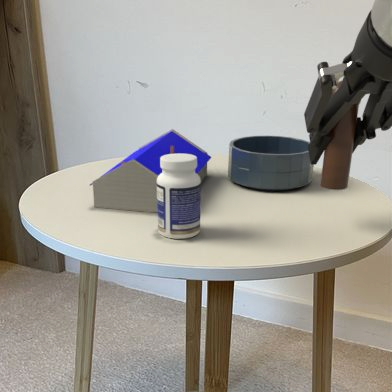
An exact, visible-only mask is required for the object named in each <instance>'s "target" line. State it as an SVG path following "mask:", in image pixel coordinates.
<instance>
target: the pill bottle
mask: <svg viewBox="0 0 392 392" xmlns="http://www.w3.org/2000/svg"><path fill="white" fill-rule="evenodd" d="M160 167H161V168H162V173H161V174H160V175H159V176H158V178H157V213H156V214H157V215H156V216H157V217H156V219H157V231H158V233H159V234H160V235H161V236H163V237H164V238H168V239H174V240H175V239H176V240H183V239H190V238H193V237H195V236H198V235H199V233H200V231H201V204H202V203H201V196H202V195H201V192H202V189H201V187H202V182H201V180H200V177H199V175H198V174H196V173H195V169H196V168H197V157H196V156H194V155H191V154H182V153H177V154H167V155H164V156H161V158H160Z"/></svg>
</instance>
